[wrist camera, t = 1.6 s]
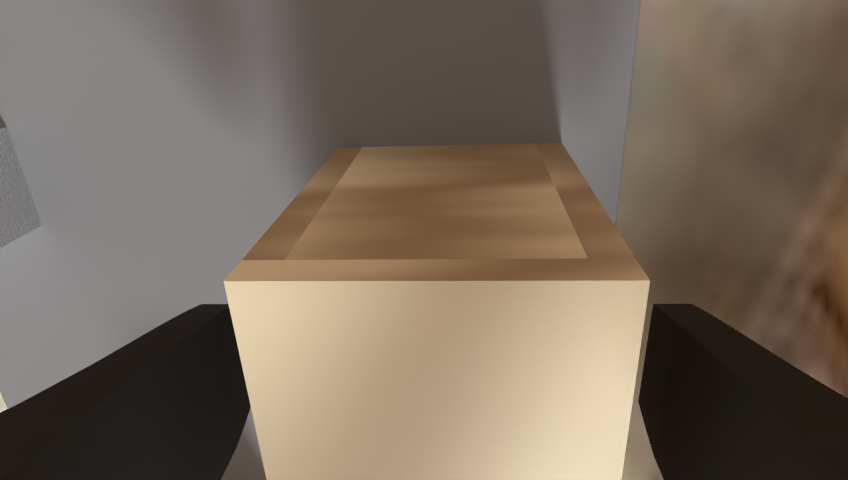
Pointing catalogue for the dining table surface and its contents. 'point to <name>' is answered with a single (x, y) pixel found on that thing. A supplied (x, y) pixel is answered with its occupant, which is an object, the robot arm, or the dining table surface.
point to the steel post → (14, 195)
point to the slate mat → (255, 138)
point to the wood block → (441, 320)
